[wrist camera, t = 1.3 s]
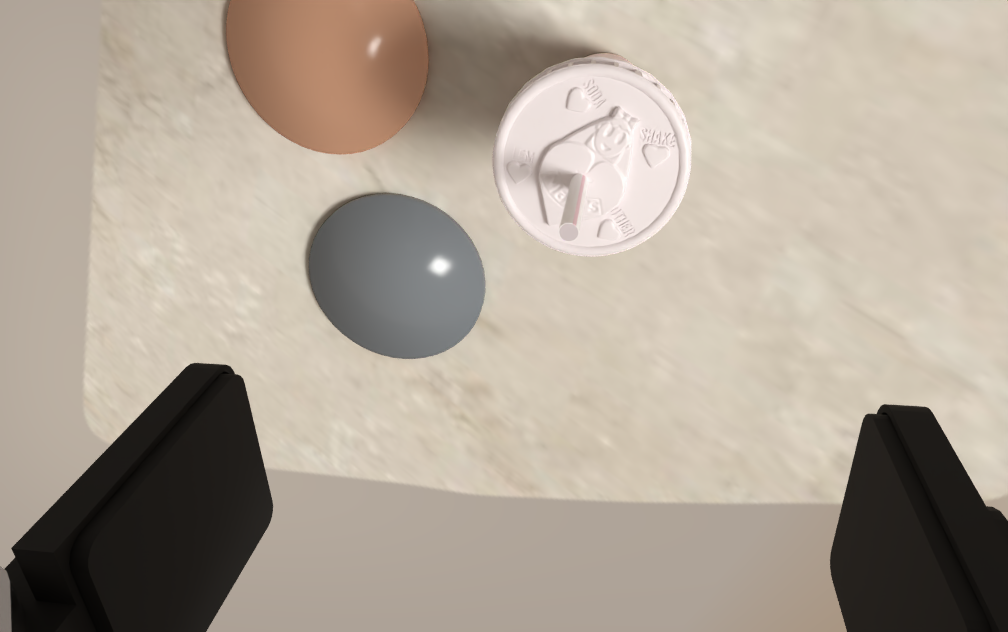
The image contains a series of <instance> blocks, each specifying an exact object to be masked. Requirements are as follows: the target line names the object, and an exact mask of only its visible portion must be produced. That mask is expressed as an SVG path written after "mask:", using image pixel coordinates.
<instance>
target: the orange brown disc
mask: <svg viewBox="0 0 1008 632" xmlns="http://www.w3.org/2000/svg"><path fill="white" fill-rule="evenodd" d="M226 38H227V46H228V53H229V57H230V61H231V65H232V68H233V71H234V74H235V77H236V79H237V81H238V83H239V85H240V87H241V89H242V91H243V93H244V95H245V96H246V98H247V99H248V101H249V103H250V104H251V106H252V107H253V108H254V109H255V110H256V112H257V113H258V114H259V115H260V116H261V117H262V118H263V119H264V121H265V122H266V123H267V124H268V125H270V126H271V127H272V128H273V129H274V130H276V131H277V132H278V133H279V134H281V135H283V136H284V137H286V138H287V139H289V140H290V141H292V142H294V143H296V144H298V145H300V146H302V147H305V148H308V149H311V150H314V151H318V152H323V153H329V154H352V153H357V152H363V151H366V150H368V149H371V148H374V147H376V146H378V145H380V144H382V143H384V142H385V141H387V140H388V139H389V138H391V137H392V136H394V135H395V134H396V133H397V132H398V131H399V130H400V129H401V128H402V127H403V126H404V125H405V124H406V123H407V122H408V120H409V119H410V118H411V116H412V115H413V113H414V112H415V110H416V108H417V106H418V104H419V102H420V100H421V97H422V95H423V92H424V89H425V85H426V80H427V74H428V65H429V59H428V44H427V37H426V32H425V29H424V25H423V21H422V19H421V16H420V13H419V11H418V8H417V6H416V4H415V2H414V0H230V4H229V8H228V13H227V23H226Z"/></svg>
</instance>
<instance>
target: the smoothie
mask: <svg viewBox="0 0 1008 632" xmlns="http://www.w3.org/2000/svg"><path fill="white" fill-rule="evenodd" d="M691 141H692V140H691V137H690V133H689V129H688V125H687V121H686V118H685V115H684V113H683V111H682V110H681V108H680V106H679V105H678V103H677V101H676V100H675V98H674V96H673V95H672V93H671V92H670V91H669V90H668V89H667V88H666V87H665V86H664V85H663V84H662V83H661V82H659V81H658V80H657V79H656V78H655V77H654V76H653V75H652V74H650V73H648V72H646V71H645V70H643V69H641V68H639V67H637V66H635V65H633V64H632V63H631V62H629V61H628V60H626V59H625V58H623V57H621V56H618V55H615V54H610V53H598V54H593V55H589V56H587V57H585V58H573V59H570V60H567V61H565V62H562V63H559V64H556V65H553V66H551V67H548V68H546V69H545V70H543V71H542V72H541V73H539V74H538V75H536V76H535V77H533V78H532V79H531V80H529V81H528V82H526V83H525V84H524V86H523V87H522V88H521V89H520V90H519V92H518V93H517V94H516V95H515V97H514V98H513V99H512V100H511V101H510V103H509V104H508V107H507V109H506V111H505V113H504V115H503V118H502V120H501V122H500V124H499V127H498V131H497V134H496V138H495V142H494V148H493V174H494V179H495V184H496V187H497V191H498V193H499V196H500V198H501V201H502V203H503V205H504V206H505V208H506V210H507V211H508V213H509V214H510V216H511V217H512V218H513V220H514V221H515V222H516V223H517V224H518V225H519V227H520V228H521V229H522V230H524V231H525V232H526V233H527V234H528V235H529V236H531V237H532V238H534V239H535V240H536V241H538V242H540V243H542V244H543V245H545V246H547V247H550V248H552V249H554V250H557V251H560V252H563V253H567V254H571V255H577V256H605V255H611V254H616V253H619V252H623V251H626V250H628V249H631V248H633V247H635V246H637V245H639V244H641V243H643V242H644V241H646V240H647V239H649V238H650V237H652V236H653V235H654V234H656V233H657V232H658V231H659V230H660V229H661V228H662V227H663V226H664V225H665V224H666V223H667V222H668V221H669V220H670V218H671V217H672V216H673V214H674V213H675V211H676V210H677V208H678V206H679V205H680V203H681V201H682V199H683V196H684V194H685V191H686V188H687V185H688V181H689V177H690V170H691Z"/></svg>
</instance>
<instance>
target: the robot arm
mask: <svg viewBox="0 0 1008 632" xmlns="http://www.w3.org/2000/svg"><path fill="white" fill-rule="evenodd" d="M272 512H273V503H272V497H271V493H270V489H269V485H268V480H267V476H266V472H265V468H264V463H263V459H262V455H261V451H260V446H259V442H258V438H257V434H256V430H255V425H254V421H253V417H252V413H251V408H250V404H249V400H248V396H247V391H246V387H245V383H244V380H243V378H242V377H241V376H240V375H236V374H235V373H234V371H233V369H232V368H231V367H230V366H228V365H220V364H203V363H193V364H190V365H189V366H187V367H186V368H185V369H184V370H183V371H182V372H181V373H180V374H179V375H178V376H177V377H176V378H175V379H174V380H173V381H172V382H171V383H170V385H169V386H168V387H167V388H166V389H165V390H164V391H163V392H162V393H161V394H160V395H159V396H158V397H157V398H156V399H155V400H154V401H153V402H152V403H151V404H150V405H149V406H148V407H147V408H146V409H145V410H144V411H143V412H142V414H141V415H140V416H139V417H138V418H137V419H136V420H135V421H134V422H133V423H132V424H131V425H130V426H129V427H128V428H127V429H126V430H125V431H124V432H123V433H122V434H121V435H120V436H119V437H118V438H117V439H116V440H115V441H114V443H113V444H112V445H111V446H110V447H109V448H108V449H107V450H106V451H105V452H104V453H103V454H102V455H101V456H100V457H99V458H98V459H97V460H96V461H95V462H94V463H93V464H92V465H91V466H90V467H89V468H88V470H86V472H85V473H84V474H83V475H82V476H81V477H80V478H79V479H78V480H77V481H76V482H75V483H74V484H73V485H72V486H71V487H70V488H69V489H68V490H67V491H66V492H65V493H64V494H63V496H61V497H60V498H59V500H57V502H56V503H55V504H54V505H53V506H52V507H51V508H50V509H49V510H48V511H47V512H46V513H45V514H44V515H43V516H42V517H41V518H40V519H39V520H38V521H37V522H36V523H35V524H34V525H33V526H32V527H31V529H29V531H28V532H27V533H26V534H25V535H24V536H23V537H22V538H21V539H20V540H19V541H18V542H17V543H16V544H15V545H14V546H13V547H12V551H13V553H14V555H15V558H14V560H13V561H12V562H11V563H10V564H9V565H8V566H7V567H6V568H5V569H3V568H2V567H0V632H206V631H207V629H208V627H209V626H210V624H211V622H212V621H213V619H214V617H215V616H216V614H217V612H218V610H219V609H220V607H221V606H222V604H223V602H224V600H225V599H226V597H227V595H228V594H229V592H230V590H231V589H232V587H233V585H234V583H235V582H236V580H237V578H238V577H239V575H240V573H241V572H242V570H243V568H244V566H245V565H246V563H247V561H248V560H249V558H250V556H251V555H252V553H253V551H254V550H255V548H256V546H257V544H258V543H259V541H260V539H261V538H262V536H263V534H264V533H265V531H266V529H267V528H268V526H269V523H270V521H271V517H272ZM830 569H831V576H832V580H833V584H834V587H835V591H836V594H837V598H838V601H839V605H840V608H841V612H842V615H843V619H844V622H845V626H846V629H847V632H1008V521H1007V519H1006V518H1005V517H1004V516H1003V514H1002V513H1001V512H1000V511H999V510H997V509H995V508H994V507H986V505H985V504H984V502H983V500H982V498H981V497H980V495H979V493H978V491H977V490H976V488H975V486H974V484H973V483H972V481H971V479H970V477H969V476H968V474H967V472H966V470H965V469H964V467H963V465H962V463H961V462H960V460H959V458H958V456H957V455H956V453H955V451H954V449H953V448H952V446H951V444H950V442H949V441H948V439H947V437H946V435H945V434H944V432H943V430H942V428H941V427H940V425H939V423H938V421H937V420H936V418H935V416H934V415H933V413H932V412H931V410H930V409H929V408H927V407H920V406H903V405H886V404H884V405H882V406H881V407H880V408H879V410H878V412H877V414H867V415H865V417H864V419H863V422H862V426H861V430H860V434H859V438H858V442H857V446H856V451H855V455H854V459H853V463H852V467H851V471H850V475H849V480H848V484H847V488H846V492H845V496H844V500H843V504H842V509H841V513H840V517H839V521H838V525H837V529H836V533H835V537H834V542H833V546H832V550H831V557H830Z"/></svg>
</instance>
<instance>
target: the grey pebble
mask: <svg viewBox="0 0 1008 632" xmlns="http://www.w3.org/2000/svg"><path fill="white" fill-rule="evenodd" d="M309 274H310V281H311V285H312V289H313V292H314V294H315V297H316V300H317V301H318V303H319V305H320V307H321V309H322V310H323V312H324V313H325V315H326V316H327V318H328V319H329V320H330V321H331V322H332V324H333V325H334V326H335V327H336V328H337V329H338V330H339V331H340V332H341V333H342V334H344V335H345V336H346V337H348V338H349V339H350V340H352V341H353V342H355V343H356V344H358V345H360V346H361V347H363V348H366V349H368V350H370V351H372V352H375V353H378V354H381V355H384V356H389V357H393V358H402V359H417V358H425V357H429V356H433V355H437V354H439V353H442V352H444V351H446V350H448V349H450V348H452V347H453V346H455V345H456V344H457V343H459V342H460V341H461V340H462V339H463V338H464V337H465V336H466V335H467V334H468V333H469V332H470V330H471V329H472V328H473V326H474V325H475V323H476V321H477V319H478V317H479V314H480V312H481V309H482V305H483V302H484V297H485V274H484V268H483V265H482V261H481V258H480V256H479V253H478V251H477V249H476V247H475V245H474V244H473V242H472V240H471V239H470V237H469V236H468V235H467V233H466V232H465V231H464V229H463V228H462V227H461V226H460V225H459V224H458V223H457V222H456V221H455V220H454V219H452V218H451V217H450V216H449V215H448V214H446V213H445V212H443V211H442V210H440V209H439V208H437V207H436V206H434V205H432V204H430V203H427V202H425V201H423V200H420V199H417V198H414V197H411V196H406V195H401V194H391V193H382V194H372V195H367V196H363V197H360V198H357V199H354V200H352V201H350V202H348V203H346V204H344V205H343V206H342V207H340V208H339V209H337V210H336V211H335V212H334V213H333V214H332V215H331V216H330V217H329V218H328V219H327V220H326V221H325V222H324V224H323V225H322V226H321V228H320V229H319V231H318V232H317V234H316V236H315V238H314V241H313V244H312V247H311V251H310V257H309Z"/></svg>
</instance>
